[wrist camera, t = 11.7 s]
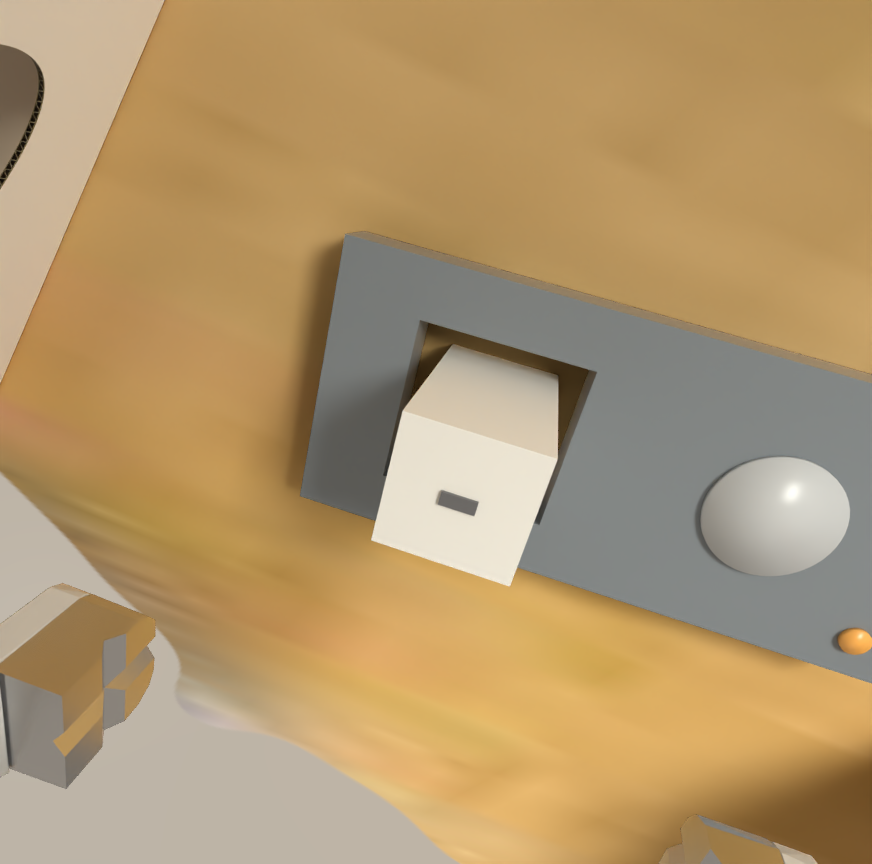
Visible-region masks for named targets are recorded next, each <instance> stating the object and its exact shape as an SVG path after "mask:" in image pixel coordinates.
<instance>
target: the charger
mask: <svg viewBox="0 0 872 864" xmlns="http://www.w3.org/2000/svg"><path fill="white" fill-rule="evenodd" d="M557 460H558V375H555V374H552V373H549V372H545V371H542V370H539V369H535V368H532V367H529V366H525V365H522V364H518V363H515V362H512V361H508V360H505V359H502V358H498V357H495V356H492V355H488V354H485V353H482V352H478V351H475V350H472V349H468V348H465V347H462V346H458V345H455V344H453V345H452V346H451V347H450V349H449V350H448V351H447V352H446V354H445V355H444V356H443V358H442V359H441V360H440V362H439V363H438V364H437V366H436V367H435V368H434V370H433V371H432V372H431V374H430V375H429V376H428V378H427V379H426V380H425V382H424V383H423V384H422V386H421V387H420V388H419V390H418V391H417V392H416V394H415V395H414V396H413V398H412V399H411V400H410V402H409V403H408V404H407V406H406V407H405V408H404V410H403V411H402V415H401V419H400V424H399V428H398V432H397V436H396V440H395V444H394V448H393V452H392V456H391V461H390V465H389V469H388V473H387V477H386V481H385V485H384V489H383V494H382V498H381V502H380V506H379V510H378V514H377V518H376V522H375V527H374V531H373V535H372V539H371V540H372V541H375V542H378V543H381V544H384V545H387V546H390V547H393V548H396V549H399V550H402V551H405V552H408V553H411V554H414V555H417V556H420V557H423V558H426V559H429V560H432V561H435V562H438V563H441V564H444V565H447V566H450V567H453V568H456V569H459V570H462V571H465V572H468V573H471V574H474V575H477V576H480V577H483V578H486V579H489V580H492V581H495V582H498V583H501V584H504V585H507V586H510V585H511V582H512V580H513V577H514V574H515V572H516V569H517V566H518V564H519V561H520V558H521V556H522V553H523V550H524V548H525V545H526V542H527V540H528V537H529V534H530V532H531V529H532V526H533V524H534V521H535V518H536V516H537V513H538V510H539V508H540V505H541V502H542V500H543V497H544V494H545V492H546V489H547V486H548V484H549V481H550V478H551V476H552V473H553V470H554V468H555V465H556V462H557Z"/></svg>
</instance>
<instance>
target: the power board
mask: <svg viewBox="0 0 872 864" xmlns="http://www.w3.org/2000/svg"><path fill="white" fill-rule="evenodd" d="M429 323H432V324H435V325H439V326H442V327H445V328H449V329H452V330H456V331H459V332H462V333H466V334H469V335H473V336H476V337H480V338H483V339H486V340H490V341H493V342H497V343H500V344H503V345H507V346H510V347H514V348H517V349H520V350H524V351H527V352H531V353H534V354H537V355H541V356H544V357H548V358H551V359H554V360H558V361H561V362H565V363H568V364H571V365H575V366H578V367H582V368H585V369H588V370H589V371H588V374H587V377H586V380H585V382H584V385H583V388H582V390H581V393H580V396H579V398H578V401H577V404H576V406H575V409H574V412H573V415H572V417H571V420H570V423H569V425H568V428H567V431H566V433H565V436H564V439H563V442H562V444H561V447H560V450H559V452H558V460H557V462H556V465H555V468H554V470H553V473H552V476H551V478H550V481H549V484H548V486H547V489H546V492H545V494H544V497H543V500H542V502H541V505H540V508H539V510H538V513H537V516H536V518H535V521H534V524H533V526H532V529H531V532H530V534H529V537H528V540H527V542H526V545H525V548H524V550H523V553H522V556H521V558H520V561H519V564H518V566H517V567H518V568H521V569H524V570H527V571H530V572H533V573H536V574H539V575H542V576H545V577H548V578H552V579H555V580H558V581H561V582H564V583H567V584H570V585H573V586H576V587H579V588H582V589H585V590H588V591H591V592H594V593H597V594H600V595H603V596H606V597H610V598H613V599H616V600H619V601H622V602H625V603H628V604H631V605H634V606H637V607H640V608H643V609H646V610H649V611H652V612H655V613H658V614H661V615H664V616H668V617H671V618H674V619H677V620H680V621H683V622H686V623H689V624H692V625H695V626H698V627H701V628H704V629H707V630H710V631H713V632H716V633H719V634H722V635H726V636H729V637H732V638H735V639H738V640H741V641H744V642H747V643H750V644H753V645H756V646H759V647H762V648H765V649H768V650H771V651H774V652H777V653H780V654H784V655H787V656H790V657H793V658H796V659H799V660H802V661H805V662H808V663H811V664H814V665H817V666H820V667H823V668H826V669H829V670H832V671H835V672H838V673H842V674H845V675H848V676H851V677H854V678H857V679H860V680H863V681H866V682H869V683H872V374H869V373H865V372H861V371H858V370H854V369H851V368H847V367H844V366H840V365H837V364H833V363H830V362H826V361H823V360H819V359H815V358H812V357H808V356H805V355H801V354H798V353H794V352H791V351H787V350H784V349H780V348H777V347H773V346H769V345H766V344H762V343H759V342H755V341H752V340H748V339H745V338H741V337H738V336H734V335H730V334H727V333H723V332H720V331H716V330H713V329H709V328H706V327H702V326H699V325H695V324H692V323H688V322H684V321H681V320H677V319H674V318H670V317H667V316H663V315H660V314H656V313H653V312H649V311H646V310H642V309H638V308H635V307H631V306H628V305H624V304H621V303H617V302H614V301H610V300H607V299H603V298H600V297H596V296H592V295H589V294H585V293H582V292H578V291H575V290H571V289H568V288H564V287H561V286H557V285H554V284H550V283H546V282H543V281H539V280H536V279H532V278H529V277H525V276H522V275H518V274H515V273H511V272H508V271H504V270H500V269H497V268H493V267H490V266H486V265H483V264H479V263H476V262H472V261H469V260H465V259H462V258H458V257H454V256H451V255H447V254H444V253H440V252H437V251H433V250H430V249H426V248H423V247H419V246H416V245H412V244H408V243H405V242H401V241H398V240H394V239H391V238H387V237H384V236H380V235H377V234H373V233H370V232H366V231H361V232H354V233H347V234H345V238H344V244H343V249H342V255H341V261H340V267H339V273H338V278H337V284H336V290H335V296H334V302H333V307H332V313H331V319H330V325H329V330H328V336H327V342H326V348H325V354H324V359H323V365H322V371H321V377H320V383H319V388H318V394H317V400H316V406H315V412H314V417H313V423H312V429H311V435H310V441H309V446H308V452H307V458H306V464H305V470H304V475H303V481H302V487H301V493H300V496H301V497H304V498H307V499H310V500H313V501H316V502H320V503H323V504H326V505H329V506H332V507H335V508H338V509H341V510H344V511H347V512H350V513H353V514H356V515H359V516H362V517H365V518H368V519H371V520H374V521H376V518H377V514H378V510H379V506H380V502H381V498H382V494H383V489H384V485H385V481H386V477H387V473H388V469H389V465H390V461H391V456H392V452H393V448H394V444H395V440H396V436H397V432H398V428H399V424H400V419H401V415H402V411H403V410H404V408H405V407H406V406H407V404H408V403H409V402H410V398H411V394H412V390H413V386H414V381H415V377H416V373H417V369H418V365H419V361H420V357H421V353H422V349H423V345H424V340H425V336H426V332H427V328H428V324H429Z"/></svg>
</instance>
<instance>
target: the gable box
mask: <svg viewBox="0 0 872 864" xmlns="http://www.w3.org/2000/svg"><path fill="white" fill-rule="evenodd" d="M163 3H164V0H0V383H1V381H2V379H3V376H4V374H5V372H6V369H7V367H8V365H9V362H10V360H11V358H12V355H13V353H14V351H15V348H16V346H17V344H18V341H19V339H20V337H21V334H22V332H23V330H24V327H25V325H26V323H27V320H28V318H29V316H30V313H31V311H32V309H33V306H34V304H35V302H36V299H37V297H38V295H39V292H40V290H41V288H42V285H43V283H44V281H45V278H46V276H47V274H48V271H49V269H50V266H51V264H52V262H53V259H54V257H55V255H56V252H57V250H58V248H59V245H60V243H61V241H62V238H63V236H64V234H65V231H66V229H67V227H68V224H69V222H70V220H71V217H72V215H73V213H74V210H75V208H76V206H77V203H78V201H79V199H80V196H81V194H82V192H83V189H84V187H85V185H86V182H87V180H88V178H89V175H90V173H91V171H92V168H93V166H94V164H95V161H96V159H97V157H98V154H99V152H100V150H101V147H102V145H103V143H104V140H105V138H106V136H107V133H108V131H109V129H110V126H111V124H112V122H113V119H114V117H115V115H116V112H117V110H118V108H119V105H120V103H121V101H122V98H123V96H124V94H125V91H126V89H127V87H128V84H129V82H130V80H131V77H132V75H133V73H134V70H135V68H136V66H137V63H138V61H139V59H140V56H141V54H142V52H143V49H144V47H145V45H146V42H147V40H148V38H149V35H150V33H151V31H152V28H153V26H154V24H155V21H156V19H157V17H158V14H159V12H160V10H161V7H162V5H163Z"/></svg>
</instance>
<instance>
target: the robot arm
mask: <svg viewBox="0 0 872 864" xmlns="http://www.w3.org/2000/svg"><path fill="white" fill-rule="evenodd" d="M154 637H155V619H153V618H151V617H149V616H146V615H144V614H141V613H139V612H136V611H133V610H131V609H128V608H126V607H123V606H121V605H118V604H116V603H113V602H111V601H108V600H105V599H103V598H101V597H98V596H96V595H93V594H90V593H87V592H85V591H82V590H80V589H77V588H74V587H72V586H69V585H66V584H63V583H62V584H59V585H56V586H52V587H50V588H48V589H47V590H45V591H44V592H43V593H41V594H40V595H38V596H37V597H36V598H34V599H33V600H32V601H30V602H29V603H28V604H26V605H25V606H24V607H22V608H21V609H20V610H18V611H17V612H16V613H14V614H13V615H12V616H10V617H9V618H7V619H6V620H5V621H3V622H2V623H1V624H0V777H2V776H4V775H6V774H8V772H9V768H10V769H12V770H15V771H18V772H21V773H23V774H26V775H29V776H32V777H35V778H38V779H40V780H43V781H45V782H48V783H51V784H54V785H56V786H59V787H62V788H65V789H67V787H68V786H69V785H70V784H71V783H72V782H73V780H74V779H75V778H76V777H77V776H78V775H79V773H80V772H81V771H82V770H83V769H84V768H85V766H86V765H87V764H88V763H89V762H90V760H92V758H93V757H94V756H95V755H96V754H97V753H98V751H99V750H100V749H101V748H102V744H103V734H104V730H105V729H107V728H109V727H112V726H114V725H116V724H118V723H121V722H123V721H125V720H126V718H127V717H128V716H129V715H130V714H131V712H132V711H133V710H134V708H136V706H137V705H138V704H139V702H140V700H141V698H142V696H143V695H144V693H145V691H146V689H147V688H148V685H149V683H150V680H151V677H152V673H153V669H154V657H153V655H152V653H151V652H150V650H149V648H148V647H147V645H148V644H149V642H150V641H151V640H152V639H153V638H154ZM680 830H681V836H682V842H683V843H682V844H679V845H676V846H673V847H670V848H667V850H666V851H665V853H664V855H663V856H662V858H661V860H660V861H659V863H658V864H817V862H816V861H815V860H814V858H813V857H812V856H811V855H808V854H805V853H803V852H800V851H797V850H794V849H792V848H789V847H786V846H783V845H781V844H778V843H775V842H772V841H769V840H767V839H766V838H763V837H760V836H758V835H755V834H752V833H749V832H746V831H743V830H740V829H737V828H735V827H732V826H729V825H726V824H723V823H720V822H717V821H714V820H712V819H709V818H706V817H703V816H700V815H697V814H696V815H693V816H691V817H688V819H687V820H686V821H685V823H684V824H683V826H682V827H681V828H680Z"/></svg>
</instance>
